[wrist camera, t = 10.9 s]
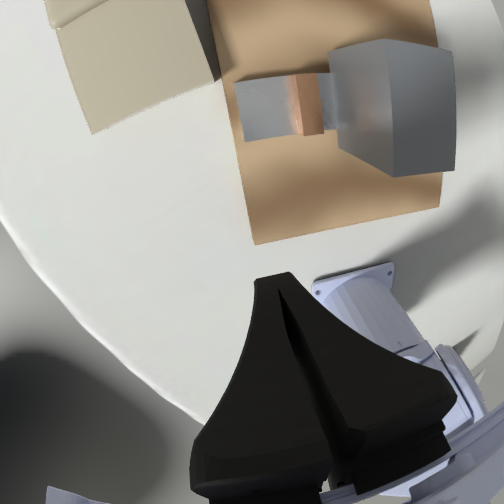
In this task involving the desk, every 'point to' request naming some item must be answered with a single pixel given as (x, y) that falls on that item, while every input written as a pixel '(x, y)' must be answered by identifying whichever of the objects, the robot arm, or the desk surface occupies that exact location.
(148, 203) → the desk surface
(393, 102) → the block
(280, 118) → the din rail
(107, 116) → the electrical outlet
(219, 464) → the robot arm
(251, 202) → the mounting board
